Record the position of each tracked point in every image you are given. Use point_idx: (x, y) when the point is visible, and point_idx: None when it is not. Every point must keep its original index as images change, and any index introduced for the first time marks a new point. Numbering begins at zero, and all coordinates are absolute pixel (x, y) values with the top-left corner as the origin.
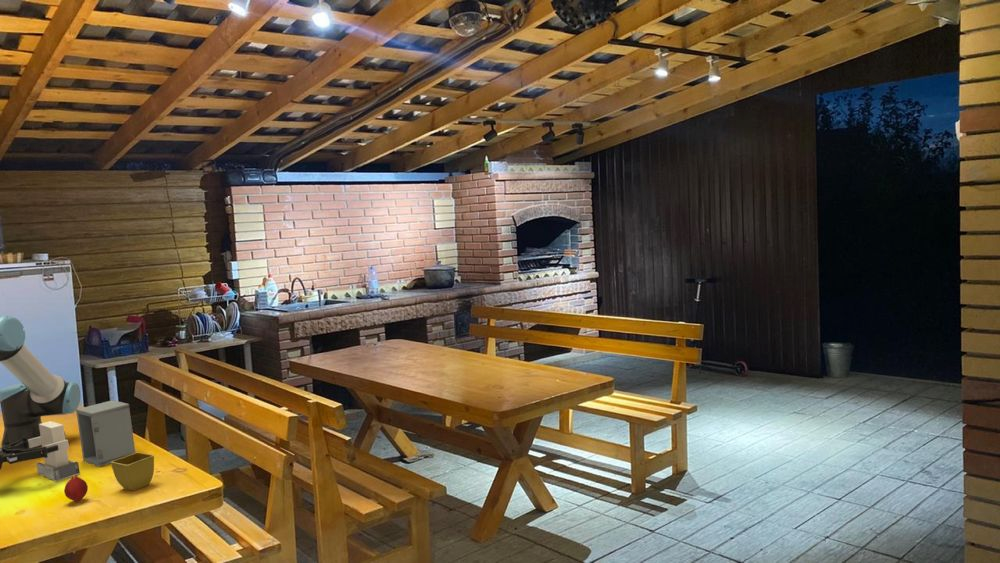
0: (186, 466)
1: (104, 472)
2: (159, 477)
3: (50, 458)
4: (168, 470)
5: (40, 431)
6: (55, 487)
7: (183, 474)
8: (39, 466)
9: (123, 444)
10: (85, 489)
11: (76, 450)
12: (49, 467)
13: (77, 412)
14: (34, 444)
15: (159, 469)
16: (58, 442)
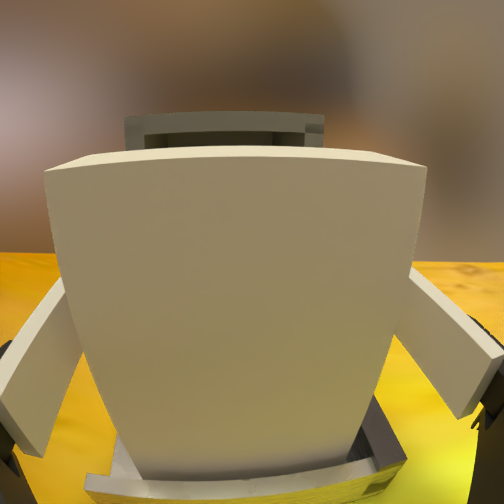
0: (453, 262)
1: (390, 354)
2: (499, 291)
3: (257, 442)
4: (463, 278)
5: (71, 260)
6: (465, 490)
7: (495, 272)
8: (136, 501)
9: None
10: None
11: (16, 326)
12: (289, 483)
13: (137, 131)
14: (45, 406)
15: (448, 283)
16: (441, 293)
